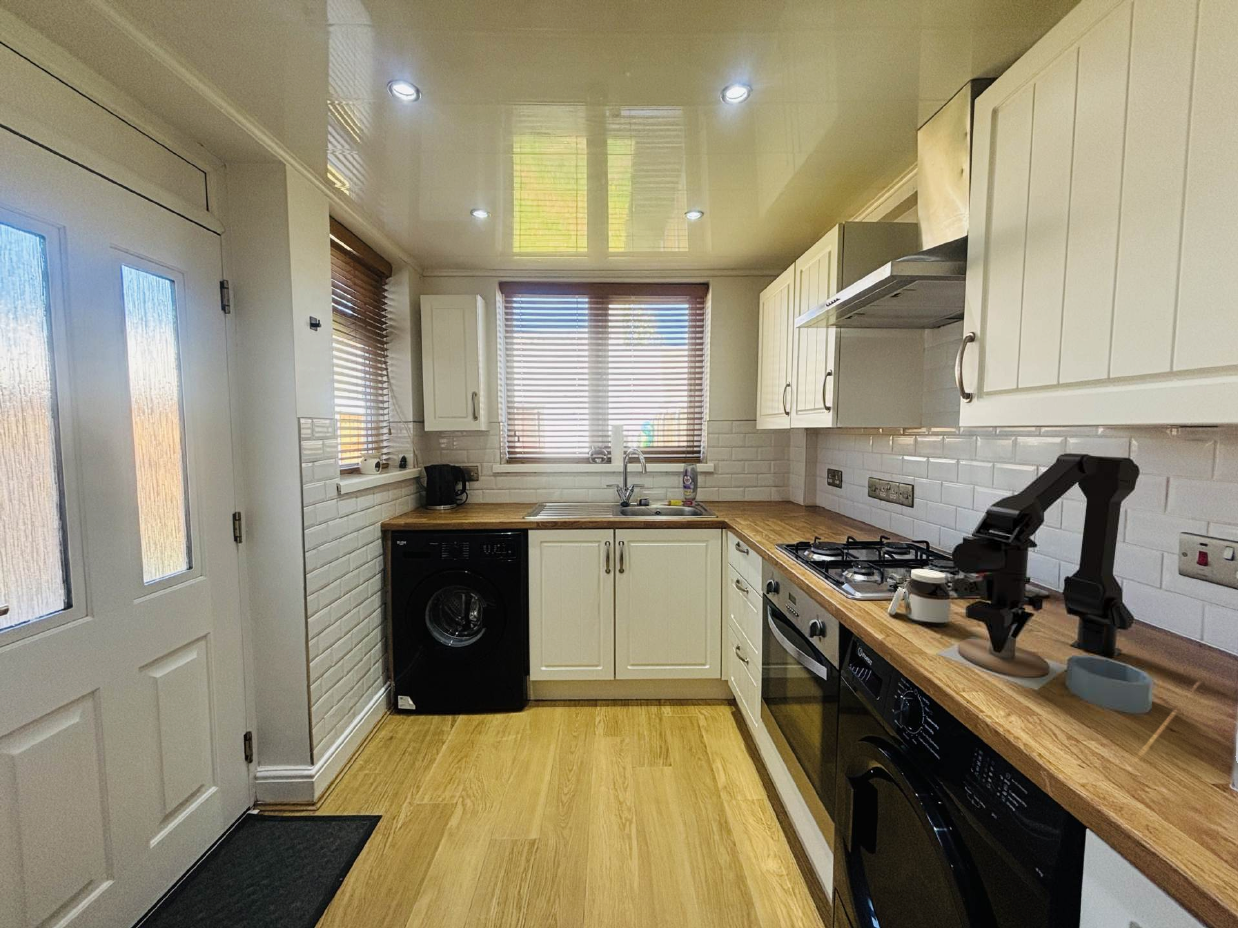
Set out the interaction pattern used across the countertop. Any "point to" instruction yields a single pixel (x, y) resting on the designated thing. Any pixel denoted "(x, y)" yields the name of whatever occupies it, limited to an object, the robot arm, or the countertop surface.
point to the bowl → (1110, 683)
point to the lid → (1004, 658)
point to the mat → (1028, 682)
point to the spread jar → (924, 598)
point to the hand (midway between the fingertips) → (1002, 649)
